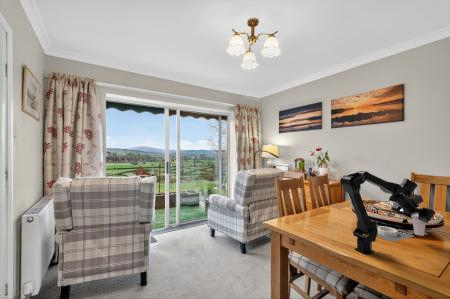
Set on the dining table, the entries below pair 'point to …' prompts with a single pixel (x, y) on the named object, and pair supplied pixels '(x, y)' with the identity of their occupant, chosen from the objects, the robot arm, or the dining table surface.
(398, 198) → the robot arm
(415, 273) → the dining table surface
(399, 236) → the mat
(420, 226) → the smoothie
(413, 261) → the dining table surface
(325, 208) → the dining table surface
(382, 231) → the collar
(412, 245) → the dining table surface
